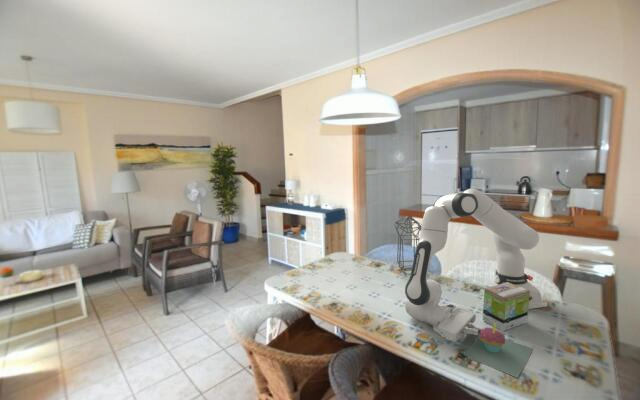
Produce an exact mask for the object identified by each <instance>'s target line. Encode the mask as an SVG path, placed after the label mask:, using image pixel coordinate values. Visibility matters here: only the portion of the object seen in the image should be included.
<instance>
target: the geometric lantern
mask: <svg viewBox="0 0 640 400" xmlns="http://www.w3.org/2000/svg"><path fill="white" fill-rule="evenodd" d="M411 221H412V222H411ZM415 224H416V225H417V227H413V226H414V225H415ZM393 225H394V228H395V230H396V234H397V251H398V252H397V255H396V257H397V258H396V261H397V262H396V263H397V265H398V268H399V269H401V271H402V273H403V274H404V275H406V272H411V271H412V266H408V265H405V262H411V260H404V241H413V258H414V257H415V252H416V248H417V246H418V243H419V239H420V232H421V226H422V224H421V223H420V222H419V221H417V220H416V219H415V218H413V217H412V216H410V215H406V216H404V217H403V218H401V219H399V220H397V221H396V222H394V223H393ZM408 225H409V226H408ZM399 229H400V230H402V232H401V234H400V232H399ZM405 229H406V230H405ZM416 231H417V233H416V234H415V232H416ZM404 233H405V234H404ZM403 234H404V235H403ZM405 236H406V237H407V236H413V239H412V238H411V239H410V238H409V239H404V237H405ZM415 247H416V248H415ZM401 251H402V254H401ZM401 256H402V257H401ZM401 258H402V260H401Z"/></svg>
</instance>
